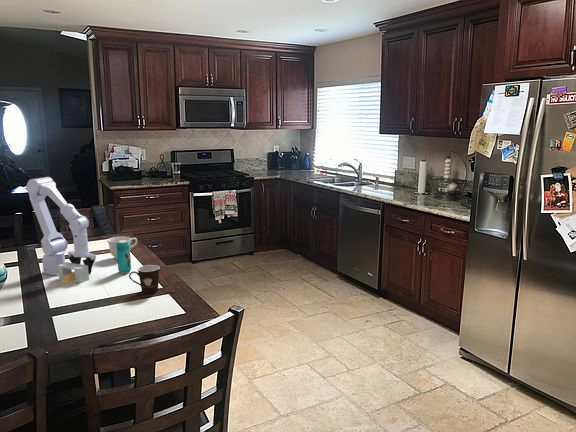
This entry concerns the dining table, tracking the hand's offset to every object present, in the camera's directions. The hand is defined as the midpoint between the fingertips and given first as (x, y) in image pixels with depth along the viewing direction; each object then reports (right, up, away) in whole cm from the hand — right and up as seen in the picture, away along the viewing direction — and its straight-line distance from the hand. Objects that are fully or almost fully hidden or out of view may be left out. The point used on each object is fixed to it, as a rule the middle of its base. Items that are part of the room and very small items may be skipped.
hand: (83, 272), depth 213 cm
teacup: (+9, +4, +28) cm, 29 cm away
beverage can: (+17, -1, +6) cm, 18 cm away
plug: (-2, -2, -3) cm, 4 cm away
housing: (-2, -2, -5) cm, 6 cm away
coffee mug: (+34, -6, -17) cm, 39 cm away
